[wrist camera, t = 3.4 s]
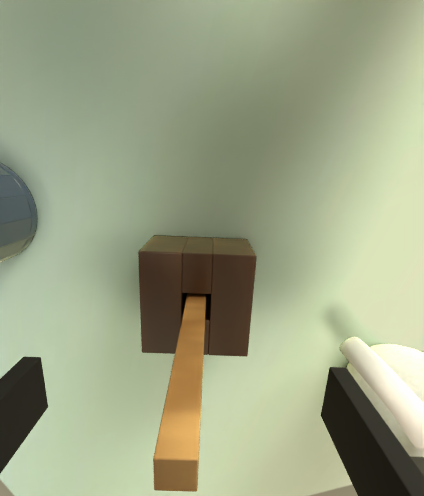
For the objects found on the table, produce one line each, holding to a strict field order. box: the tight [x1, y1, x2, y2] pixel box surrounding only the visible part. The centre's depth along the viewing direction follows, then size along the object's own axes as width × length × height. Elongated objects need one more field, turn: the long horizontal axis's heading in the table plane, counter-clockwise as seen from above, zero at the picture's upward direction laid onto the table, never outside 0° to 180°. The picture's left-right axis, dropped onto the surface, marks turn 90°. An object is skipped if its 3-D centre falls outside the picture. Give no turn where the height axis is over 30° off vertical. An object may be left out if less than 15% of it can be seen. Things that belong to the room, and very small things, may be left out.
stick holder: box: [138, 235, 256, 356], centre depth 21 cm, size 8×8×5 cm
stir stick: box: [153, 293, 206, 491], centre depth 16 cm, size 1×1×16 cm
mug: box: [339, 337, 424, 457], centre depth 20 cm, size 15×11×13 cm
